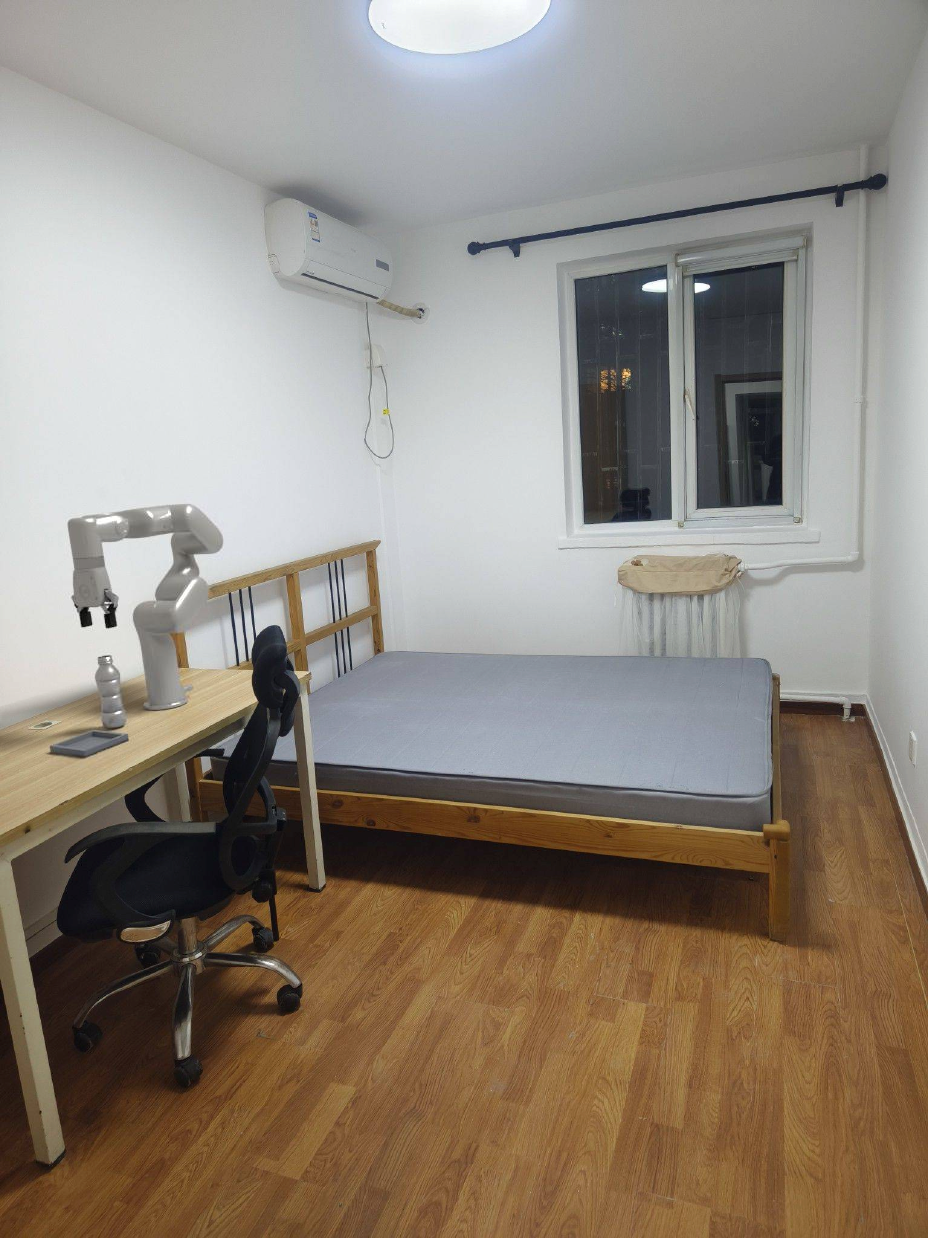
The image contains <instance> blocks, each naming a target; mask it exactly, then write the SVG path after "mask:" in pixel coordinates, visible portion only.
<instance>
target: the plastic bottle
mask: <svg viewBox="0 0 928 1238" xmlns="http://www.w3.org/2000/svg"><path fill="white" fill-rule="evenodd" d="M113 663H114V661H113V655H110V654H108V655H106V654H105V655H102V656H101V655H100V656H98V657H97V665H99V666H98V668H97V669H96V671H95V675H94V679H95V682H96V683H95V684H96V687H97V690H98V693H99V697H100V709H101V714H100V720H101V721H100V722H101V723H102V726H103V727H104V728H106V729H116V728H120V727H122V726H124V725H126V722H127V717H128V716H127V712H126V709H125V708H124V703H123V698H122V693H121V692H122V691H121V673H120V671H119V669H118V668H117V667H116V666H115V665H114V664H113Z"/></svg>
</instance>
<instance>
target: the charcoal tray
mask: <svg viewBox="0 0 928 1238" xmlns="http://www.w3.org/2000/svg"><path fill="white" fill-rule="evenodd" d="M129 740H130V739H129V734H128V733H123V732H122V733H121V732H115V731H107V730H98V729H92V730H89V731H86V732H83V733H81V734H78V735H75V736H73V737H70V738H67V739H65V740H62V741H59V742H57V743H53V744H50V745H49V750H50V753H51V752H53V753H52V754H56V753H57V754H58V755H63V754H64V755H63V756H71V757H77V758H83V757H84V759H87V758H89V757H91V756H93V755H94V756H95V755H97V754H99V753H102V752H104V751H107V750H109V749H111V748H114V747H117V746H120V745H122V744H124V743H126V742H129ZM106 749H107V750H106ZM101 751H102V752H101ZM98 752H99V753H98ZM57 754H56V755H57ZM86 757H87V758H86Z"/></svg>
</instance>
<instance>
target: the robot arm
mask: <svg viewBox="0 0 928 1238" xmlns="http://www.w3.org/2000/svg"><path fill="white" fill-rule="evenodd" d="M67 531H68V539H69V544H70V551H71V556H72V557H71V558H72V562H73V569H74V570H72V589H73V594H72V595H71V597H70V598H71V600H72V603H73V606H74V607H75V609H76V611H77V613H78V616H79V622H80V628H87V627H92V626H93V618H92V612H91V611H90V608H101V609H102V610H103V612H104V613H103V619H104V627H105V629H113V628H116V627H118V622H117V616H116V613H117V611H118V610H117V609H118V603H119V599H120V598H119V595H116V594H115V593H114V592H113V590H112V589H113V588H112V585H111V580H110V577H109V573H108V570H107V567H106V563H105V562H106V561H105V557H104V549H103V543H114V542H115V543H117V542H120V541H122V540H124V539H144V538H151V537H156V536H162V535H167V534H172V535H171V537H170V538H171V539H170V547H171V552H172V557H173V559H172V565H171V567H170V569H169V570H168V571H167V572H166V574H165V575H164V576H163V578H162V579H161V581H160V582H159V584H158V585H157V586H156V589H155V592H154V597H155V600H146V601H143V602H141V603H139V604H137V605H136V606H135V608H134V609H133V613H132V622H133V625H134V629H135V631H136V632H137V637H138V640H139V644H140V645H139V646H140V649H141V656H142V663H143V664H142V665H143V671H144V678H145V685H146V692H147V693H146V694H147V699H148V700H147V701H145V702H144V703H143V708H144V709H145V710H149V711H159V710H161V711H163V710H167V709H174V708H177V707H181V706H183V705H184V704H186V703H188V701H189V697H188V696H187V695H186V693H188V692H190V691H193V690H194V686H193V684H191V683H189V684H186V685H185V686H184V685H181V680H180V671H179V664H178V663H179V662H178V656H177V649H176V644H175V640H174V639H173V637H172V636H171V634H178V633H179V634H181V633H185V632H186V631H187V630H189V629H190V628H191V627H192V625H193V624H194V623H195V621H196V619H198V617H199V615H200V614H201V612H202V611H203V609H204V608H205V606H206V604H207V602H208V600H209V593H210V589H209V588H210V587H209V584H208V582H207V581H206V580H205V579H204V578H203V577H200V567H199V565H198V562H197V561H196V558H195V555H213V554H217V553H218V552H220V551H221V549H223V546H224V538H223V537H224V536H223V534H222V532H221V531H220V529H219V528H218V526H217V525H216V524H215V523H214V522H213V521H212V520H211V519H210V518H209V517H208V516H207V515H206V514H205V512H203V511H202V510H201V509H200V508H198V507H197V506H196V505H194V504H190V503H182V504H165V505H157V506H149V507H141V508H140V507H139V508H132V509H126V510H121V511H114V512H113V511H112V512H106V513H97V514H89V515H83V516H81V517H74V518H70V519H69V520H68V521H67Z"/></svg>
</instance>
